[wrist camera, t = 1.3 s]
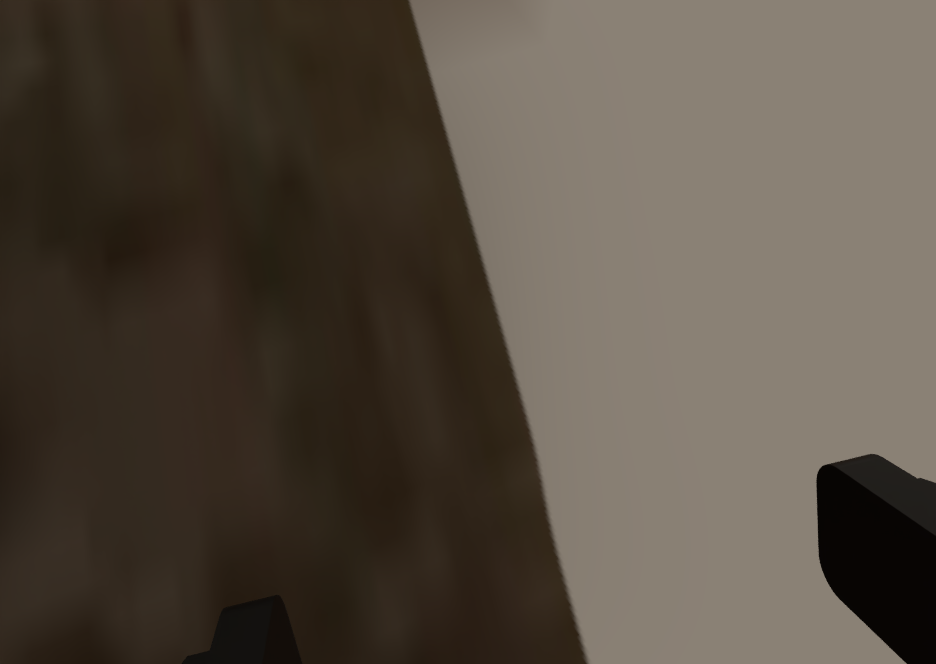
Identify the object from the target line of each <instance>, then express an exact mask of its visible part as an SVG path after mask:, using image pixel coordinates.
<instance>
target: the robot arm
mask: <svg viewBox="0 0 936 664" xmlns="http://www.w3.org/2000/svg"><path fill="white" fill-rule="evenodd" d="M817 515H818V545H819V546H818V547H819V559H820V564H821V568H822V571H823V573H824V576H825V578H826V580H827V582H828V584H829V586H830V587H831V589H832V590H833V592H834V593H835V594H836V596H837V597H838V598H839V599H840V600H841V601H842V602H843V603H844V604H845V605H846V606H847V607H848V608H849V609H850V610H852V612H854V613H855V614H856V615H857V616H858V617H859V618H860V619H861V620H862V621H863V622H864V623H865V624H866V625H867V626H868V627H869V628H870V629H871V630H872V631H873V632H874V633H875V634H877V636H879V637H880V638H881V639H882V640H883V641H884V642H885V643H886V644H887V645H888V646H889V647H890V648H891V649H892V650H893V651H894V652H895V653H896V654H897V655H898V656H899V657H900V658H902V660H903V661H905V662H906V663H907V664H936V483H934V482H931V481H928V480H925V479H922V478H918V479H917V478H916V477H914V476H912V475H911V474H909V473H907V472H906V471H904V470H902V469H901V468H899V467H897V466H896V465H894V464H893V463H891V462H889V461H888V460H886V459H884V458H883V457H881V456H879V455H875V454H869V455H865V456H861V457H856V458H852V459H848V460H844V461H840V462H835V463H831V464H827V465H824V466H822V467H821V468H820V469H819V471H818V474H817ZM182 664H302V662H301V658H300V655H299V651H298V648H297V645H296V641H295V638H294V634H293V631H292V628H291V624H290V621H289V617H288V614H287V611H286V608H285V605H284V602H283V600H282V598H281V597H280V596H279V595H275V596H271V597H267V598H263V599H259V600H255V601H250V602H246V603H242V604H238V605H234V606H230V607H225V608H224V609H223V610H222V612H221V614H220V617H219V621H218V624H217V628H216V631H215V634H214V638H213V641H212V645H211V648H210V651H207V652H203V653H199V654H195V655H191V656H187V657H186V659H185V660H184V661H183V663H182Z"/></svg>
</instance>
